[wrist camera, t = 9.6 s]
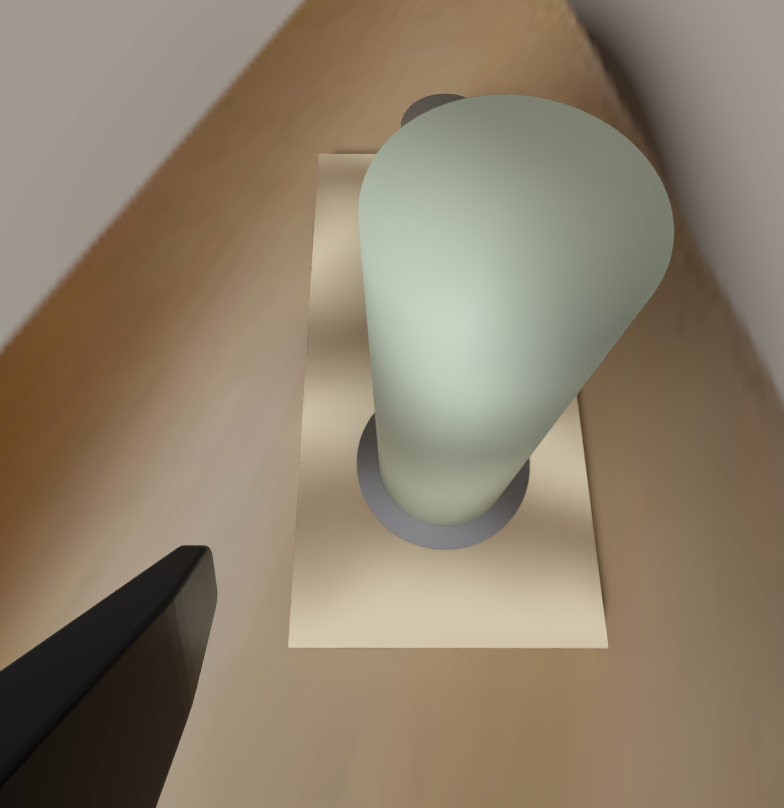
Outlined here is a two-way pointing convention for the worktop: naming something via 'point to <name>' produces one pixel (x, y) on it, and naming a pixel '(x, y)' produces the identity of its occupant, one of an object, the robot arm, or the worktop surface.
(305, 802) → the worktop surface
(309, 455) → the board
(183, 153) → the worktop surface
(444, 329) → the sage pin
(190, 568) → the robot arm
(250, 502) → the worktop surface
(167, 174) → the worktop surface
